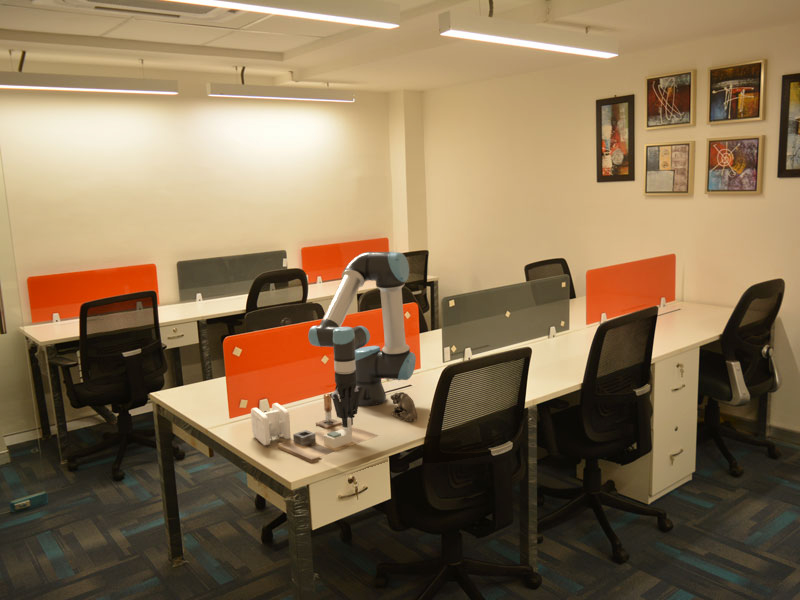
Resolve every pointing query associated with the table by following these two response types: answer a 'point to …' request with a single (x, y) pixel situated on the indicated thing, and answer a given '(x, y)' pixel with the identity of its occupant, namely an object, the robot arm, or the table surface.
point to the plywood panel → (319, 443)
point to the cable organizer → (270, 423)
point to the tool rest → (327, 426)
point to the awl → (327, 408)
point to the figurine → (404, 407)
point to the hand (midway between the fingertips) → (348, 435)
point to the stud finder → (337, 438)
